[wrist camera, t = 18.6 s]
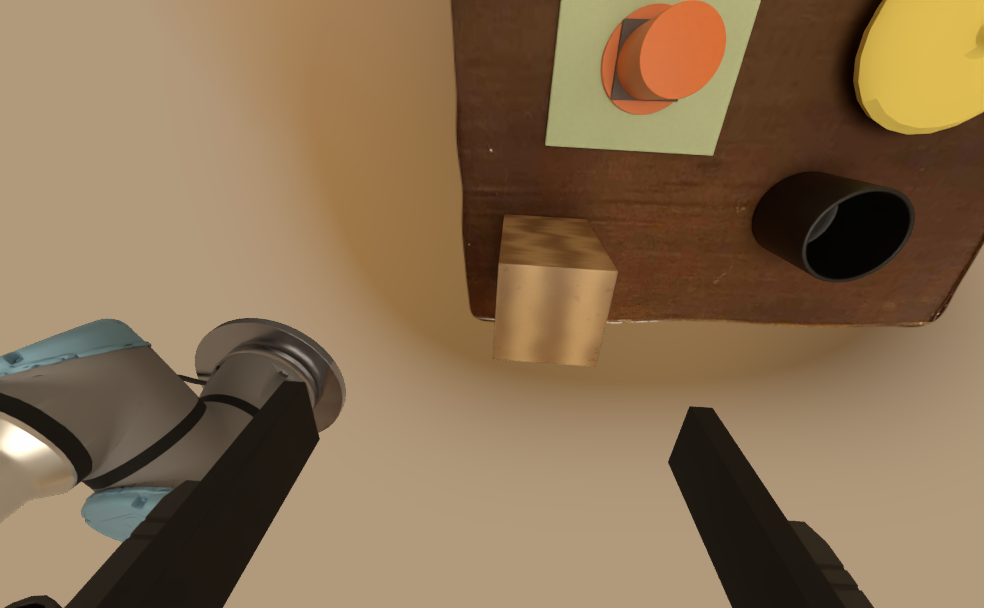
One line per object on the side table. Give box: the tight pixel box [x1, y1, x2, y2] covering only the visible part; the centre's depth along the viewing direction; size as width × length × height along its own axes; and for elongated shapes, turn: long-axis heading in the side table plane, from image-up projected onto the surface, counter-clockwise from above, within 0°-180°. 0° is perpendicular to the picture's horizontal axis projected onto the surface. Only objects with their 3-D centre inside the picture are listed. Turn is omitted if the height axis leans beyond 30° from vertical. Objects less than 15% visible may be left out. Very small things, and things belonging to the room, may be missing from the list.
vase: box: [853, 0, 984, 135], centre depth 32 cm, size 16×16×7 cm
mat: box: [545, 0, 761, 156], centre depth 37 cm, size 18×16×1 cm
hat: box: [601, 0, 726, 115], centre depth 33 cm, size 9×9×9 cm
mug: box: [753, 172, 915, 282], centre depth 40 cm, size 9×12×9 cm
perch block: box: [493, 214, 618, 367], centre depth 41 cm, size 10×10×16 cm
